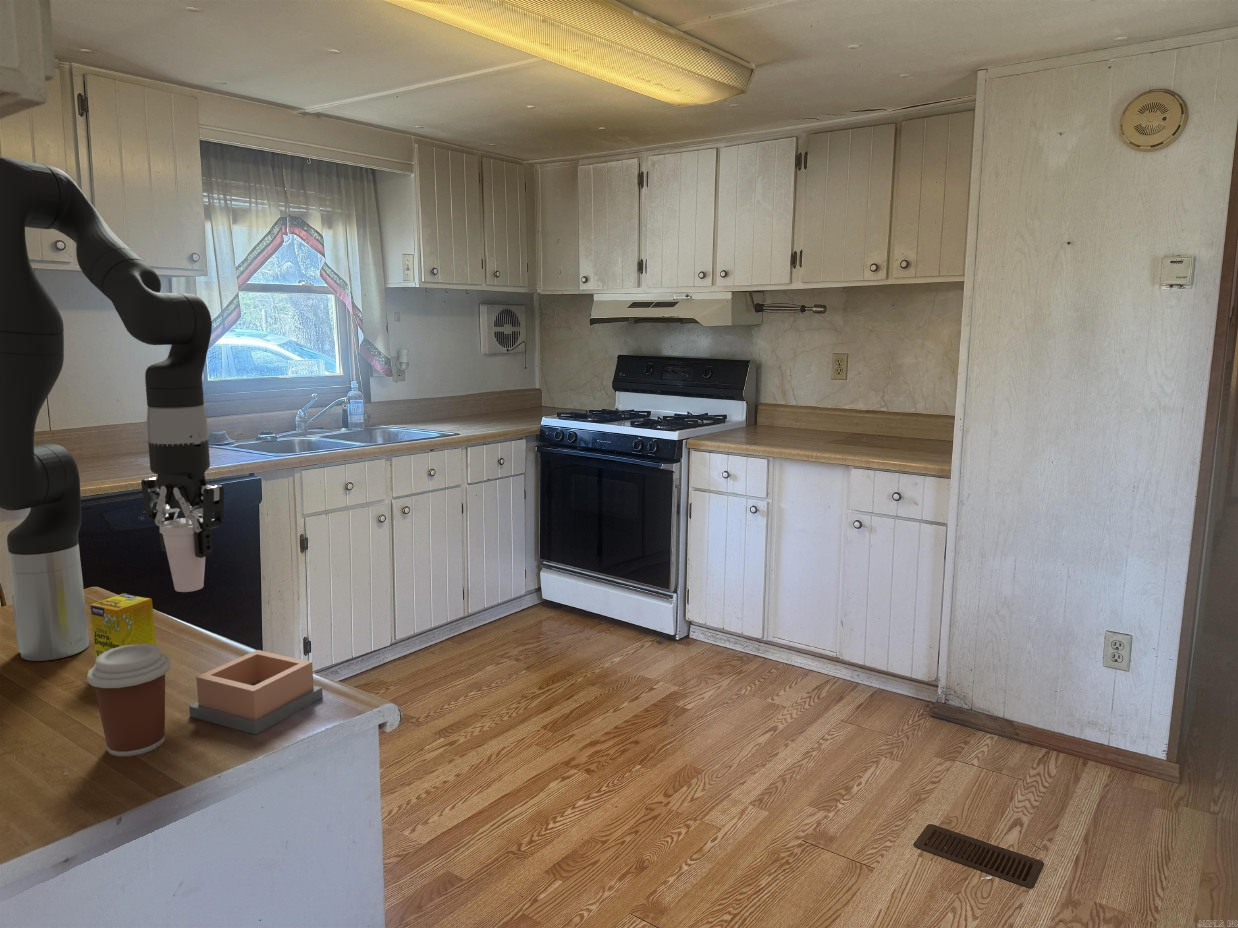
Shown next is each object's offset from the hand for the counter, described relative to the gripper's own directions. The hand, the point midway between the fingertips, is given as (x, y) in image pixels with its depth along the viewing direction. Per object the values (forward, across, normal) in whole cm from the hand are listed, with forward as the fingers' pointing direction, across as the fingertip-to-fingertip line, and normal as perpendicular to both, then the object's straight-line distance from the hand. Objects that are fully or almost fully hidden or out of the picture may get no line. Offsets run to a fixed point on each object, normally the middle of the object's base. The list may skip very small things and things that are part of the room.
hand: (186, 552), depth 122 cm
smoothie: (+5, 0, 0) cm, 5 cm away
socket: (+20, +14, -2) cm, 24 cm away
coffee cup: (+20, +9, -16) cm, 27 cm away
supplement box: (+20, -14, -1) cm, 24 cm away
